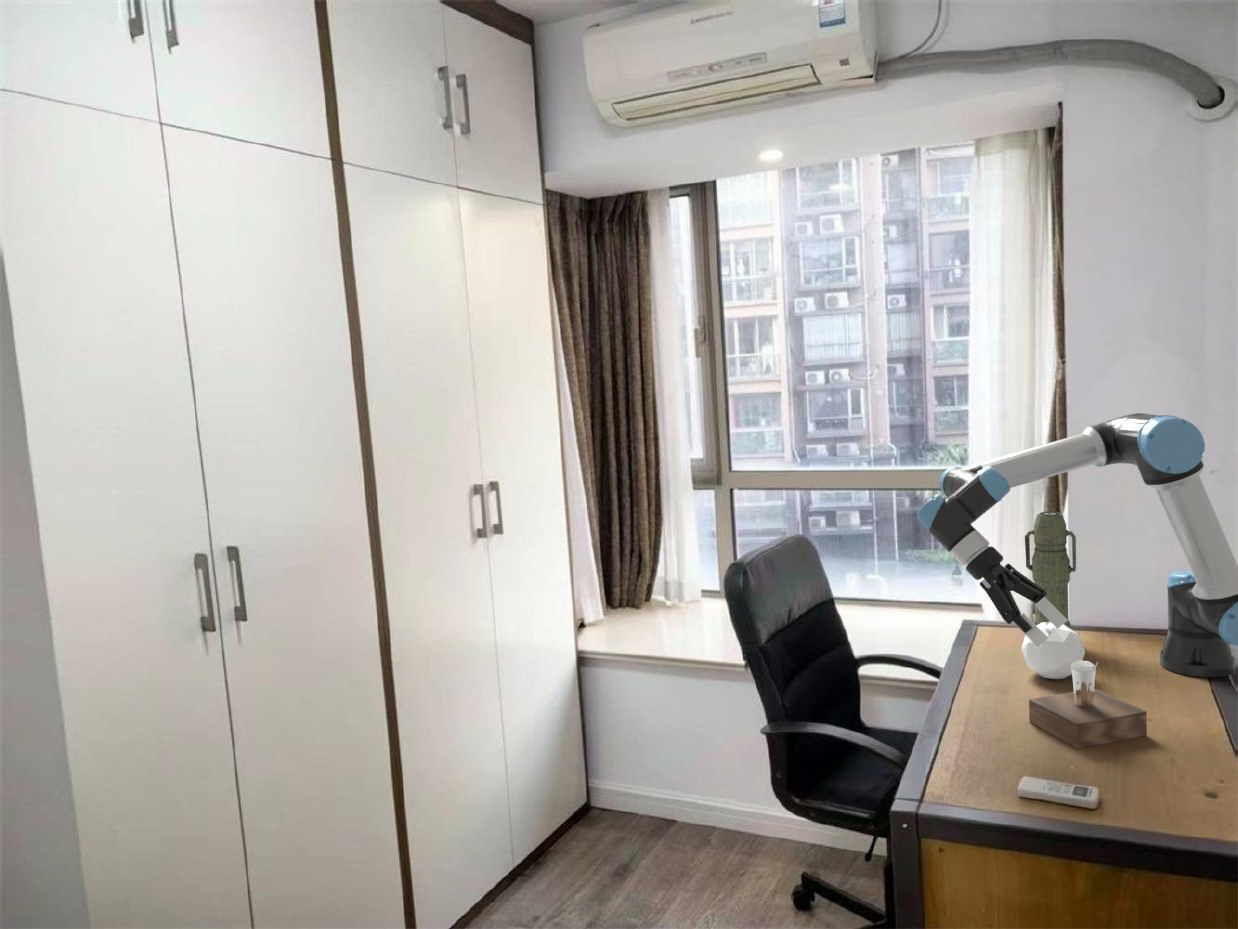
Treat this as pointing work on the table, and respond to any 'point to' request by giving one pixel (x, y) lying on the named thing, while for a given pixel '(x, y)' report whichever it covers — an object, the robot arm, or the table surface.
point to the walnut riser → (1088, 719)
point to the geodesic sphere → (1053, 651)
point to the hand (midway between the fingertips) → (1053, 633)
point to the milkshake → (1083, 682)
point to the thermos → (1051, 561)
